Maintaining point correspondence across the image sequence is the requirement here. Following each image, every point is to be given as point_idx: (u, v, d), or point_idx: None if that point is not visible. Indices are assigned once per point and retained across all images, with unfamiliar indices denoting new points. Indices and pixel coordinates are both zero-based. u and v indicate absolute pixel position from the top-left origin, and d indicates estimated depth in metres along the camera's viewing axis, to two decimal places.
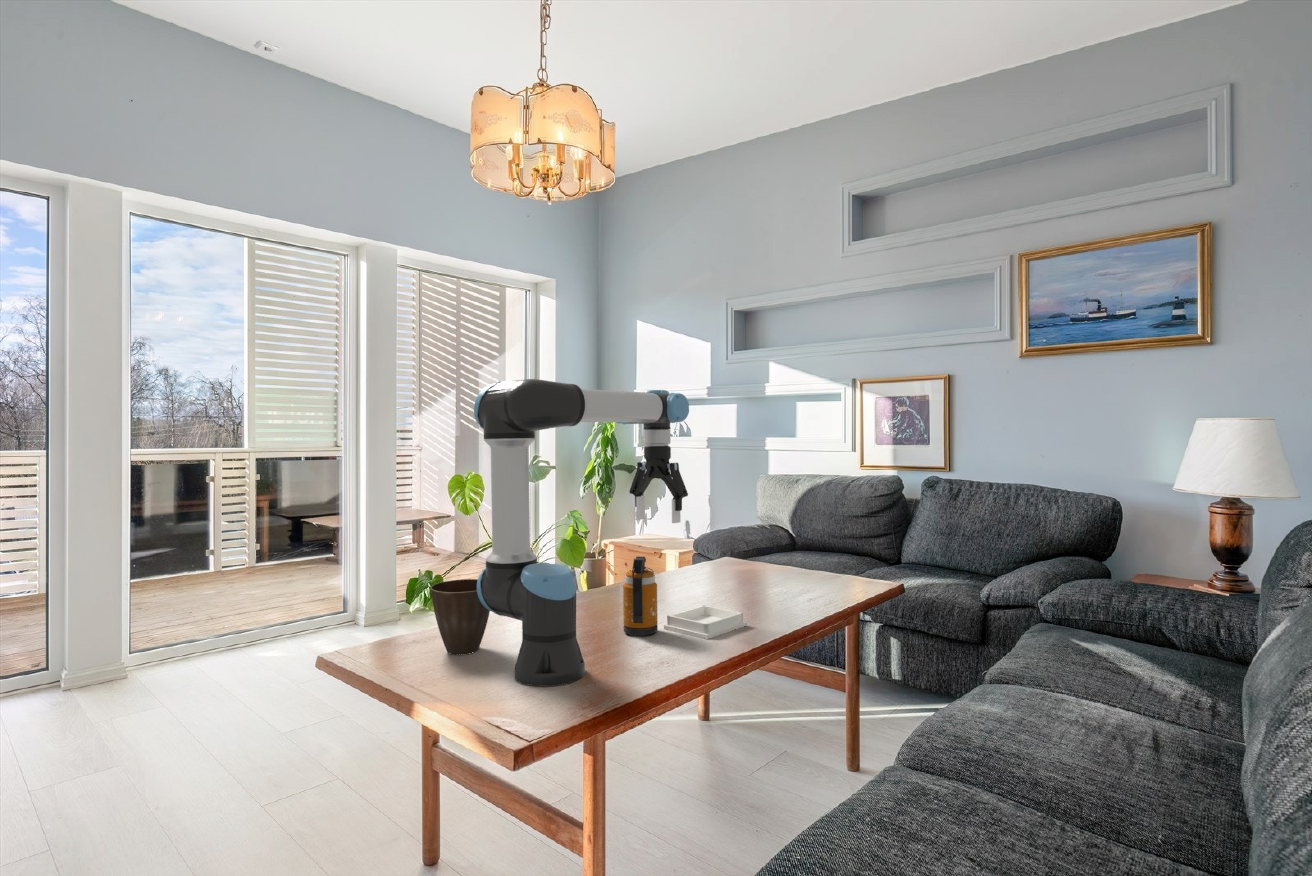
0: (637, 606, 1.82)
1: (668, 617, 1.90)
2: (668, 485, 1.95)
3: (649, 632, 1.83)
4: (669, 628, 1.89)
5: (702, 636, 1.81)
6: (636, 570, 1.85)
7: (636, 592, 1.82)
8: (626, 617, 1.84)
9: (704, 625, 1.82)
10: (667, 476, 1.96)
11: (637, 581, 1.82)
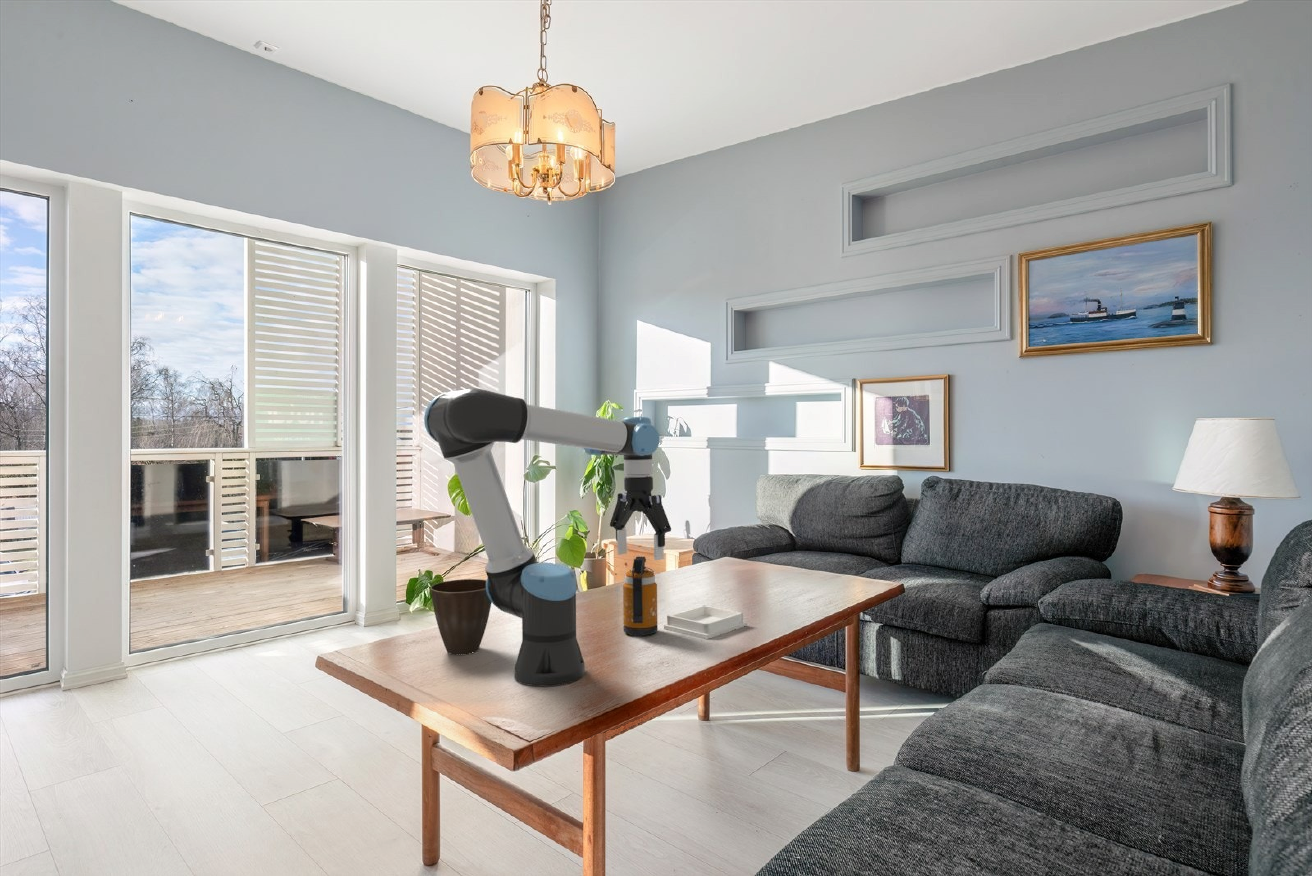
0: (637, 606, 1.82)
1: (668, 617, 1.90)
2: (650, 519, 1.82)
3: (649, 632, 1.83)
4: (669, 628, 1.89)
5: (702, 636, 1.81)
6: (636, 570, 1.85)
7: (636, 592, 1.82)
8: (626, 617, 1.84)
9: (704, 625, 1.82)
10: (649, 509, 1.83)
11: (637, 581, 1.82)
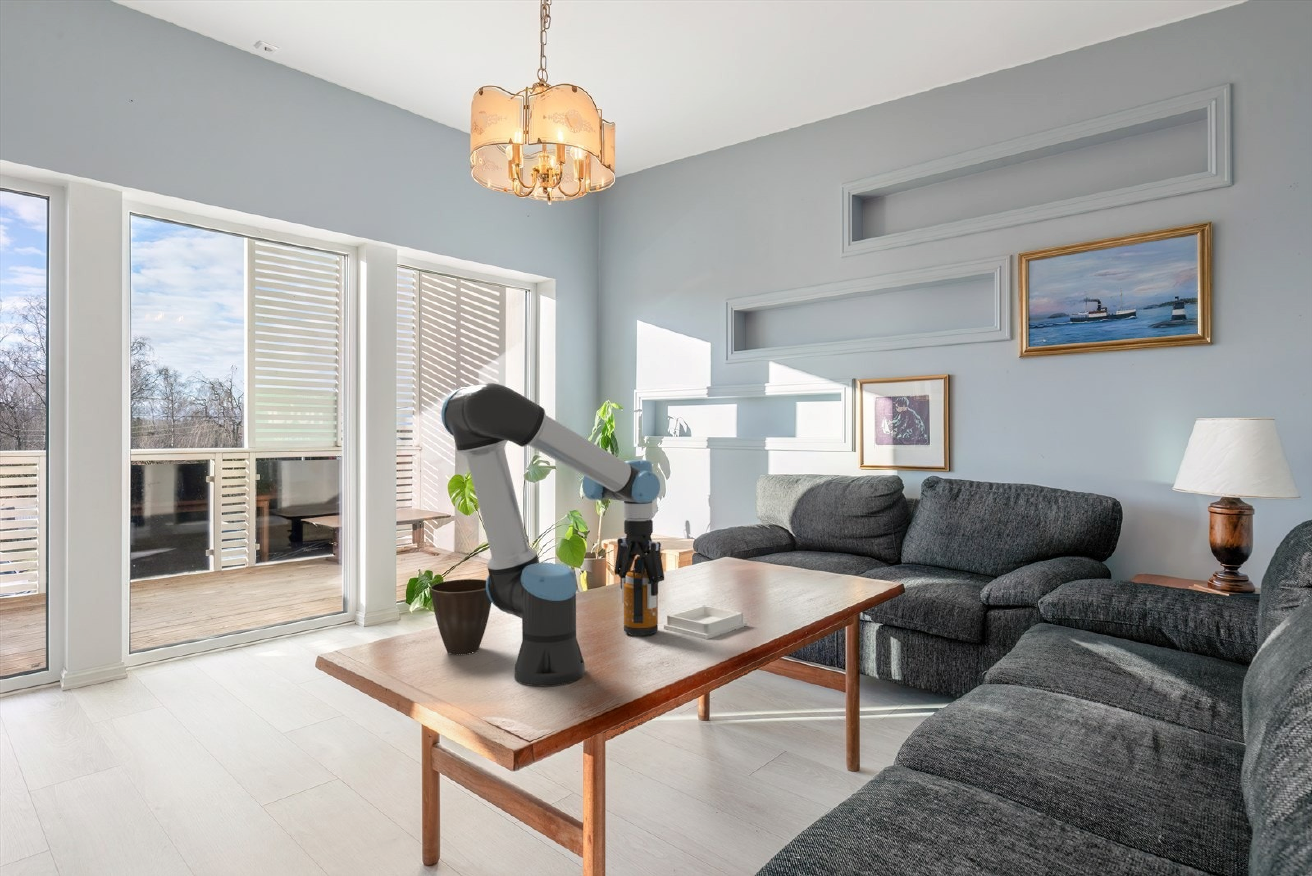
0: (638, 606, 1.82)
1: (668, 617, 1.90)
2: (646, 566, 1.83)
3: (649, 632, 1.83)
4: (669, 628, 1.89)
5: (702, 636, 1.81)
6: (637, 570, 1.85)
7: (637, 592, 1.82)
8: (626, 616, 1.84)
9: (704, 625, 1.82)
10: (647, 555, 1.84)
11: (638, 581, 1.82)
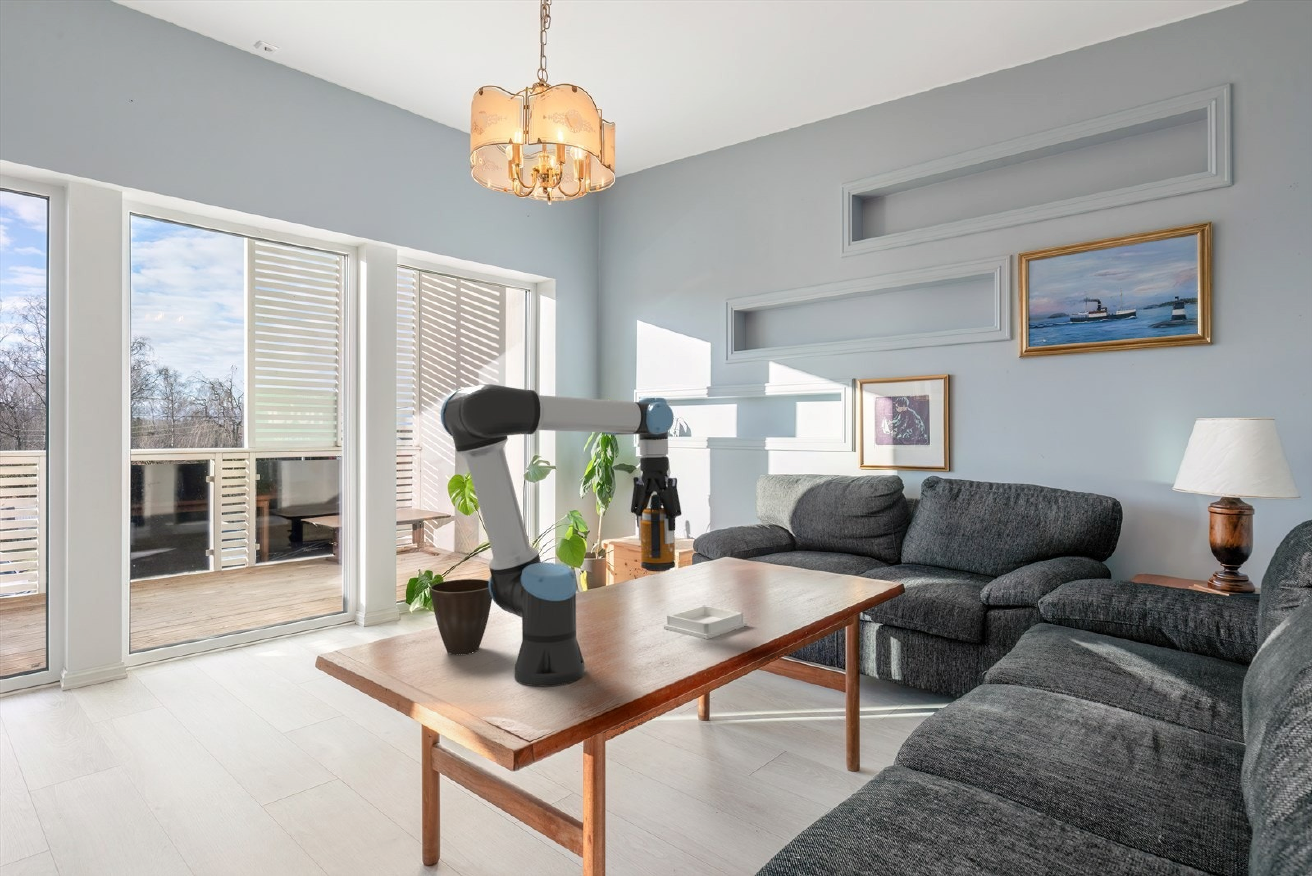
0: (656, 542, 1.83)
1: (668, 617, 1.90)
2: (663, 502, 1.84)
3: (667, 567, 1.85)
4: (669, 628, 1.89)
5: (702, 636, 1.81)
6: (653, 507, 1.86)
7: (654, 528, 1.83)
8: (644, 553, 1.86)
9: (704, 625, 1.82)
10: (663, 491, 1.85)
11: (655, 516, 1.83)
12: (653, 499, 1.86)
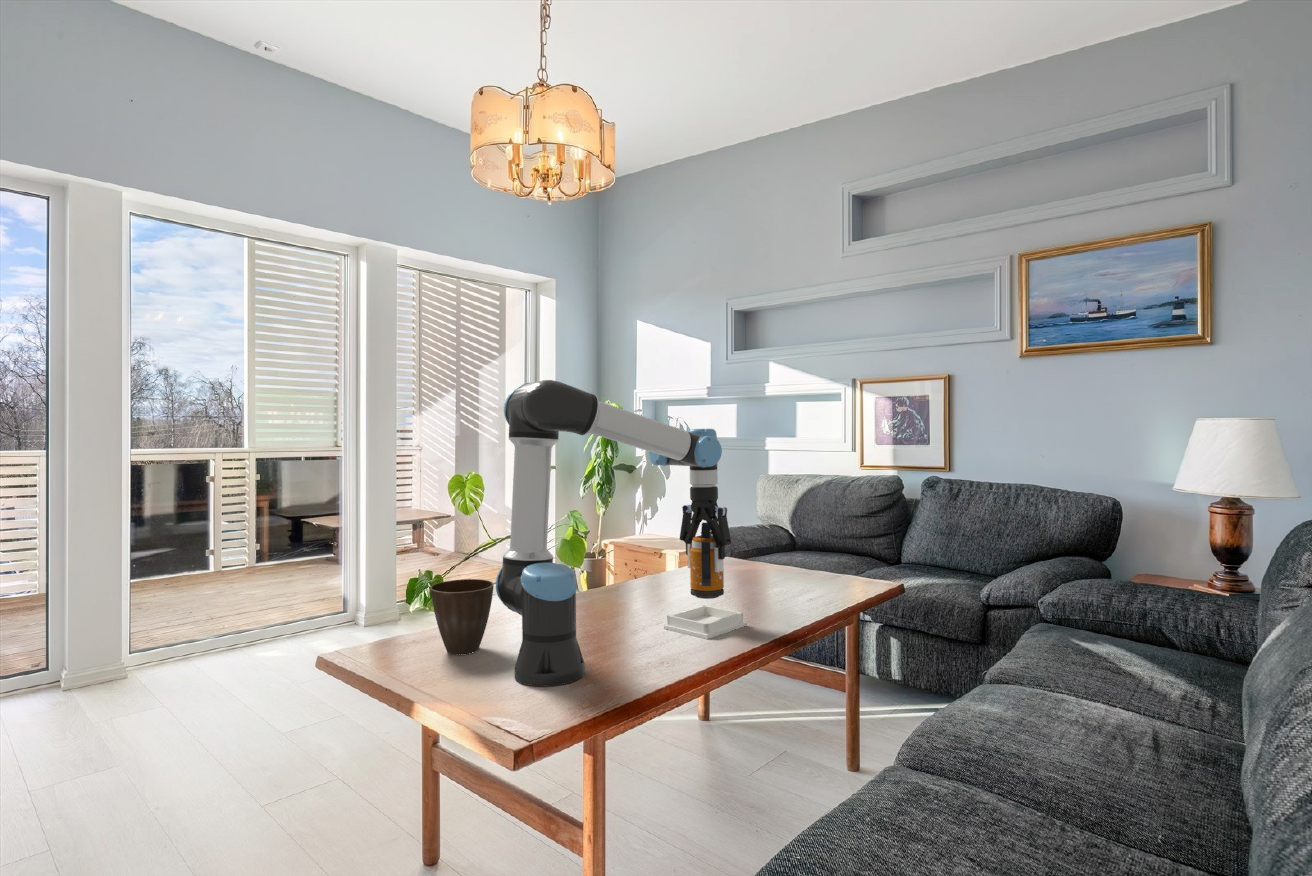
0: (706, 570, 1.87)
1: (668, 617, 1.90)
2: (713, 531, 1.88)
3: (717, 595, 1.88)
4: (669, 628, 1.89)
5: (702, 636, 1.81)
6: (703, 535, 1.90)
7: (705, 556, 1.87)
8: (694, 580, 1.90)
9: (704, 625, 1.82)
10: (713, 520, 1.89)
11: (705, 545, 1.87)
12: (703, 528, 1.90)
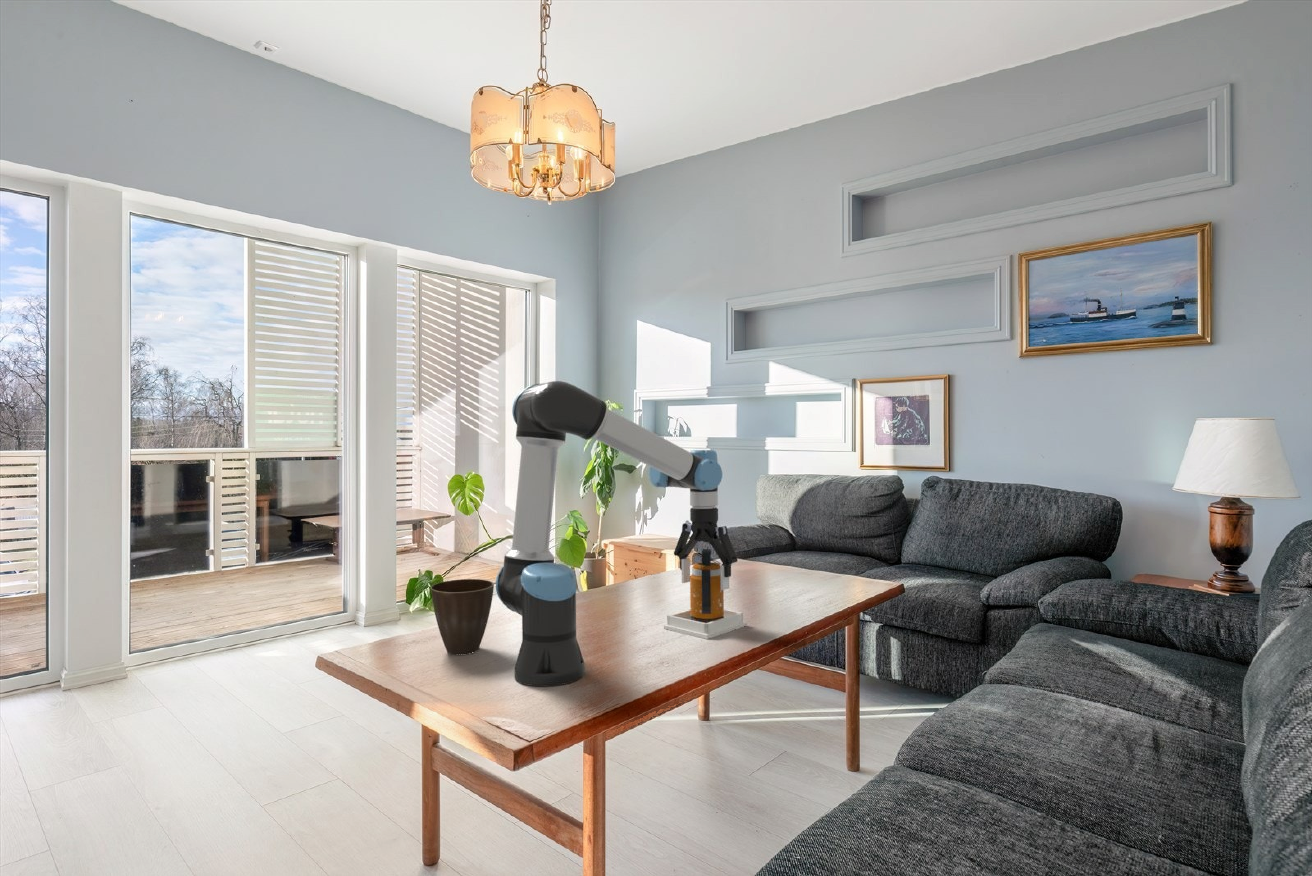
0: (706, 598, 1.86)
1: (668, 617, 1.90)
2: (716, 550, 1.87)
3: None
4: (669, 628, 1.89)
5: (702, 636, 1.81)
6: (703, 562, 1.90)
7: (705, 584, 1.86)
8: (694, 608, 1.89)
9: (704, 625, 1.82)
10: (715, 540, 1.89)
11: (706, 573, 1.86)
12: (703, 555, 1.90)
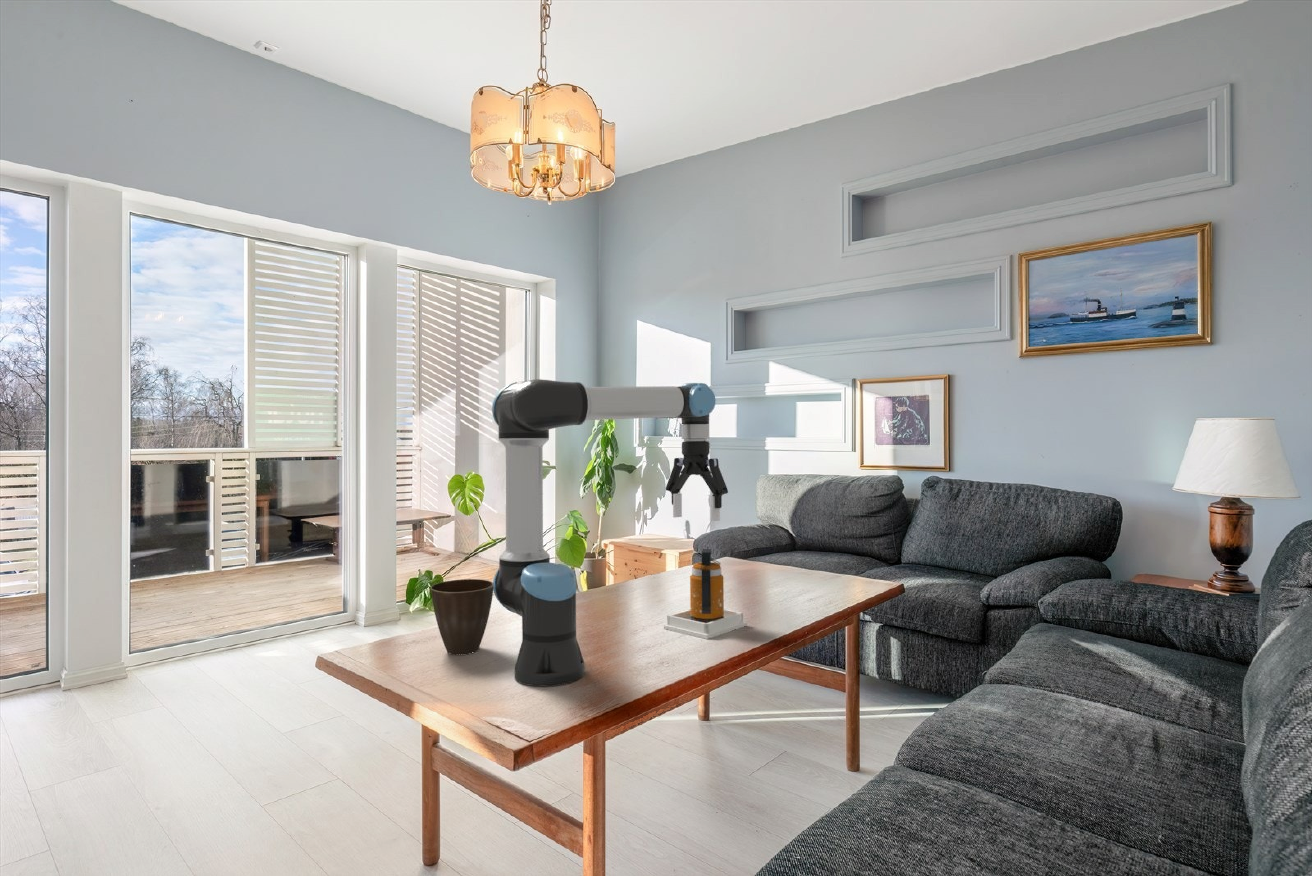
0: (706, 598, 1.86)
1: (668, 617, 1.90)
2: (707, 482, 1.88)
3: None
4: (669, 628, 1.89)
5: (702, 636, 1.81)
6: (703, 562, 1.90)
7: (705, 584, 1.86)
8: (694, 608, 1.89)
9: (704, 625, 1.82)
10: (706, 472, 1.89)
11: (706, 573, 1.86)
12: (703, 555, 1.90)
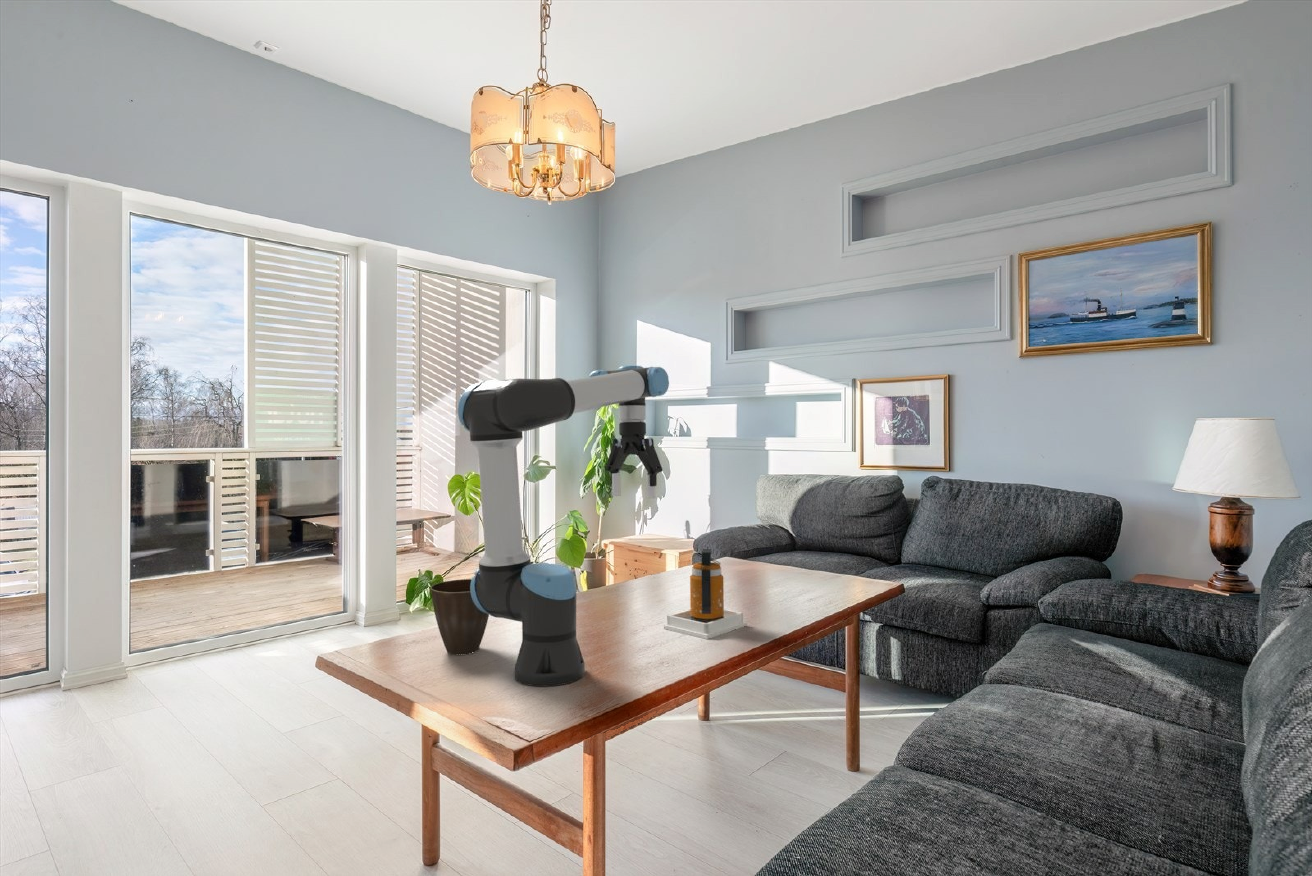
0: (706, 598, 1.86)
1: (668, 617, 1.90)
2: (643, 461, 1.94)
3: None
4: (669, 628, 1.89)
5: (702, 636, 1.81)
6: (703, 562, 1.90)
7: (705, 584, 1.86)
8: (694, 608, 1.89)
9: (704, 625, 1.82)
10: (642, 452, 1.96)
11: (706, 573, 1.86)
12: (703, 555, 1.90)
